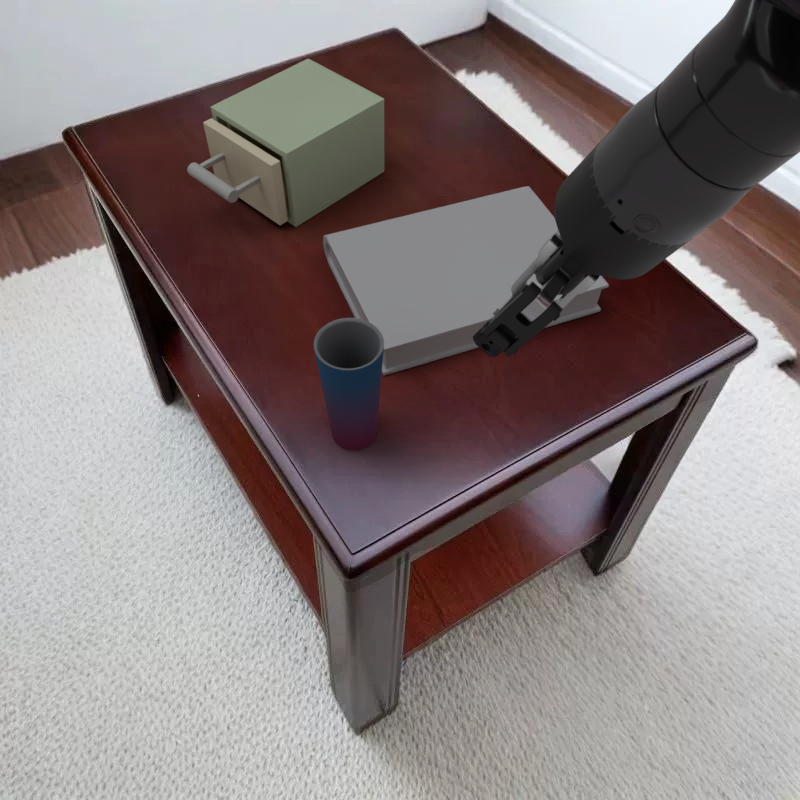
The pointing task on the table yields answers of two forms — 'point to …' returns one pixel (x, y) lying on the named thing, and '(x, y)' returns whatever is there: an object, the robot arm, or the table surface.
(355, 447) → the cup
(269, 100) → the cabinet
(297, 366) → the table surface
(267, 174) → the drawer
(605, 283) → the book
